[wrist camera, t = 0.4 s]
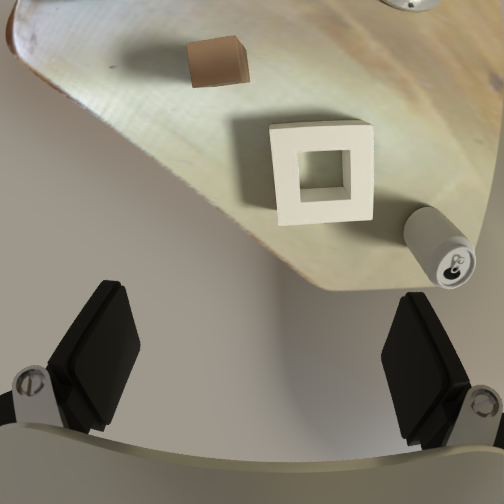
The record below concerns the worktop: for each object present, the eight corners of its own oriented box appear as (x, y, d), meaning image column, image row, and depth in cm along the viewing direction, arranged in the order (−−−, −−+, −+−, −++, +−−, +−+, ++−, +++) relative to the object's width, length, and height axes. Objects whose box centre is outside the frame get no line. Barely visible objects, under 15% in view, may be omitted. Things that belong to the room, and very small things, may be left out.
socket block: (269, 124, 38) (269, 129, 34) (362, 120, 37) (373, 125, 33) (278, 210, 44) (278, 226, 40) (363, 205, 43) (372, 220, 38)
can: (394, 244, 45) (422, 290, 35) (410, 199, 42) (447, 237, 31) (432, 252, 46) (465, 297, 35) (449, 210, 42) (489, 248, 31)
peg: (211, 54, 34) (186, 43, 24) (246, 49, 34) (234, 35, 23) (215, 86, 36) (192, 87, 26) (250, 82, 36) (240, 80, 25)
